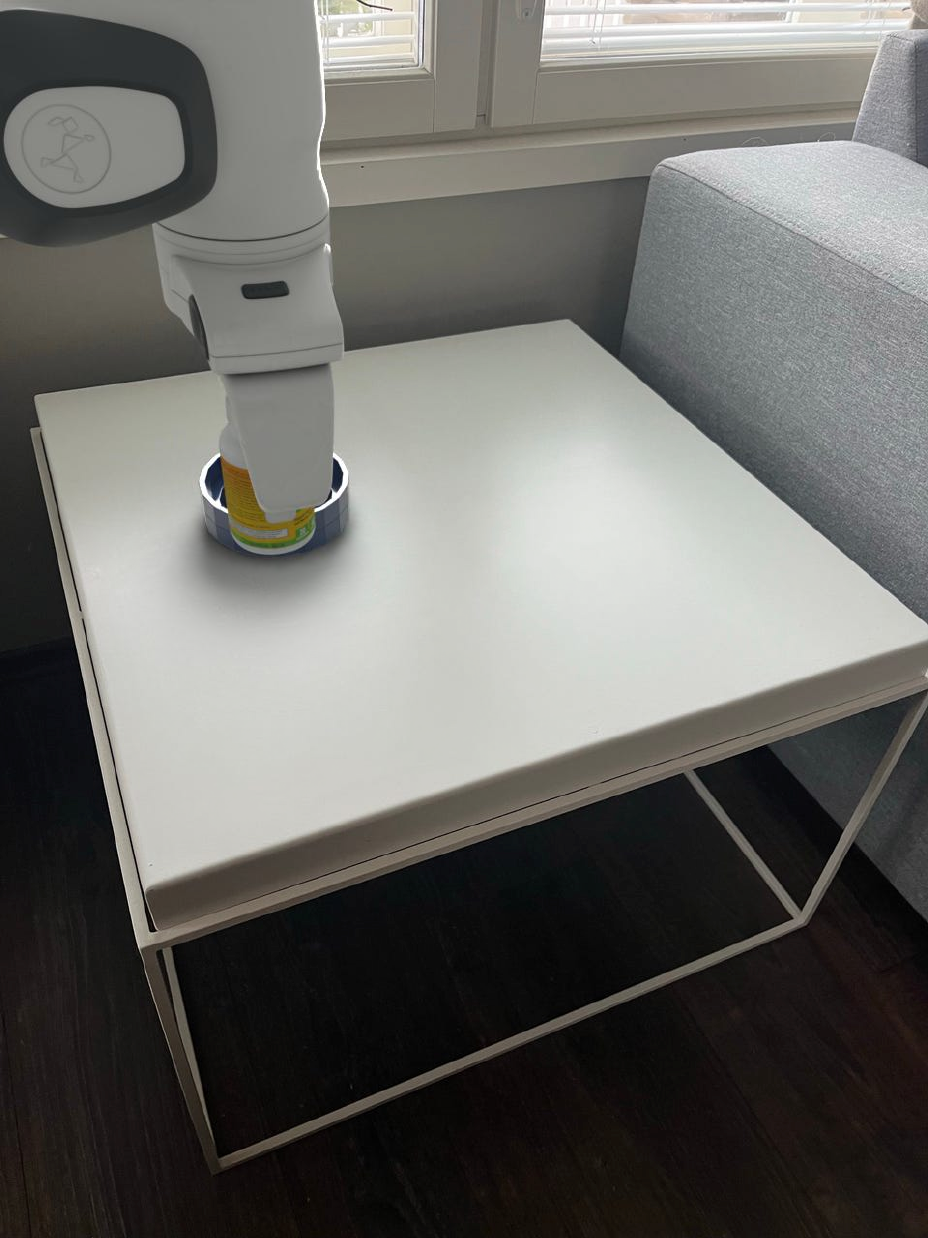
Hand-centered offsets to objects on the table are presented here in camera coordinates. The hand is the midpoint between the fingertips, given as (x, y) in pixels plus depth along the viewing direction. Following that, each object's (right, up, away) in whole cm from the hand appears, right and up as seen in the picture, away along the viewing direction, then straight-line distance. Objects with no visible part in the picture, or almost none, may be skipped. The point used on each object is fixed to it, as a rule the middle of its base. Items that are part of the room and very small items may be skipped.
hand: (268, 484), depth 60 cm
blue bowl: (-5, +1, +29) cm, 30 cm away
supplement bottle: (0, -3, +3) cm, 4 cm away
